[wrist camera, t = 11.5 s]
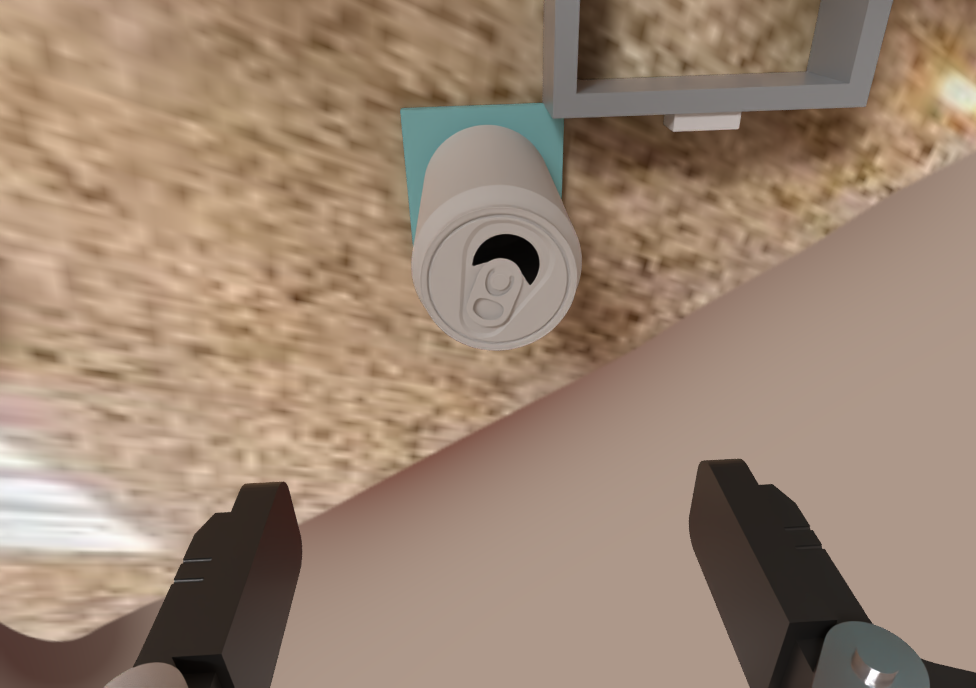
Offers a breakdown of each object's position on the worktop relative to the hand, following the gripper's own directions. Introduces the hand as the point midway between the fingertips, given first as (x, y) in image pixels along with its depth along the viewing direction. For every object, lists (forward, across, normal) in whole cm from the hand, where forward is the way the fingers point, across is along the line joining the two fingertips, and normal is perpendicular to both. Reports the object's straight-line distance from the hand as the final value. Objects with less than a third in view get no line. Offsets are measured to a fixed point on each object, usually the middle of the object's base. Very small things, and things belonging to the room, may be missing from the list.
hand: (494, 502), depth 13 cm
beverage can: (+24, -1, +1) cm, 24 cm away
